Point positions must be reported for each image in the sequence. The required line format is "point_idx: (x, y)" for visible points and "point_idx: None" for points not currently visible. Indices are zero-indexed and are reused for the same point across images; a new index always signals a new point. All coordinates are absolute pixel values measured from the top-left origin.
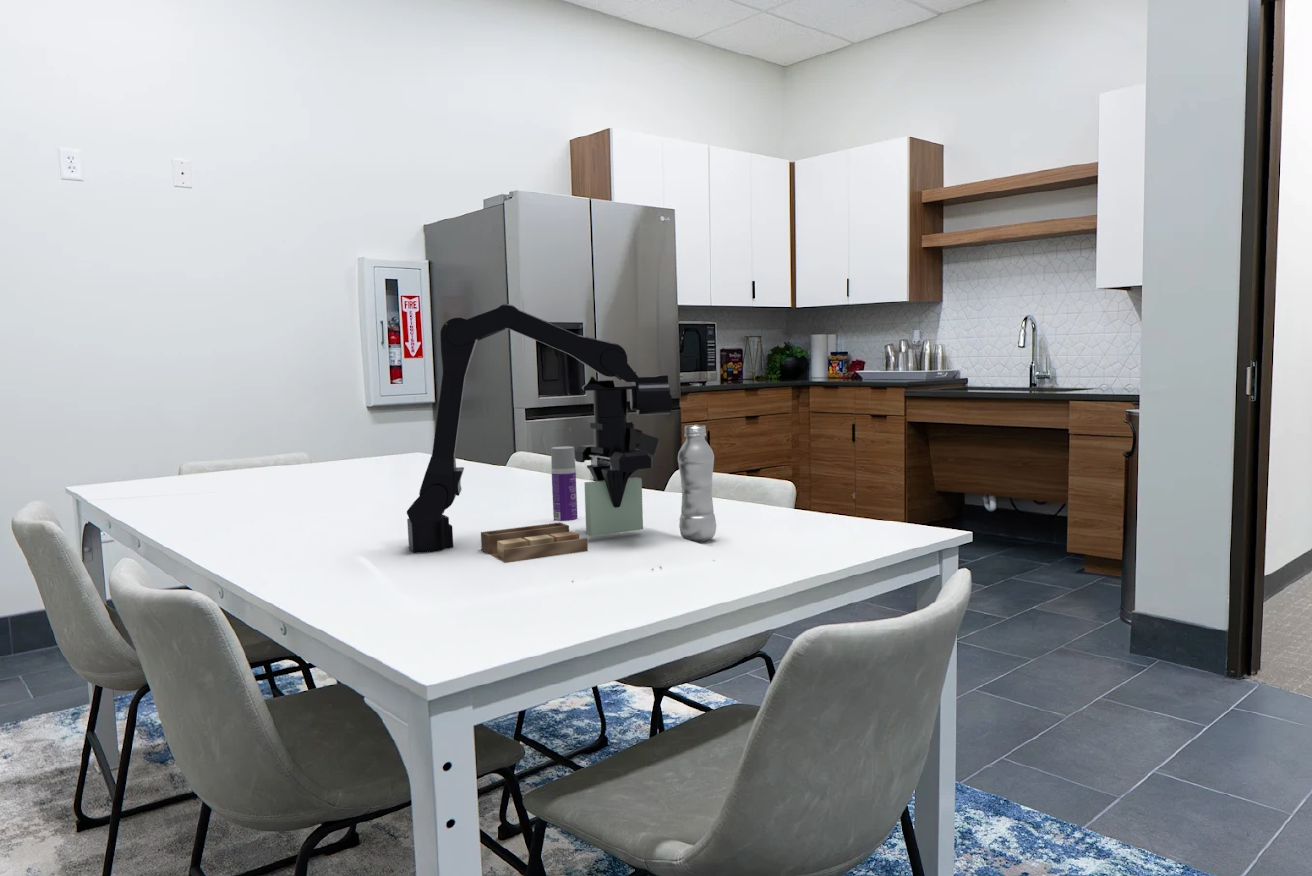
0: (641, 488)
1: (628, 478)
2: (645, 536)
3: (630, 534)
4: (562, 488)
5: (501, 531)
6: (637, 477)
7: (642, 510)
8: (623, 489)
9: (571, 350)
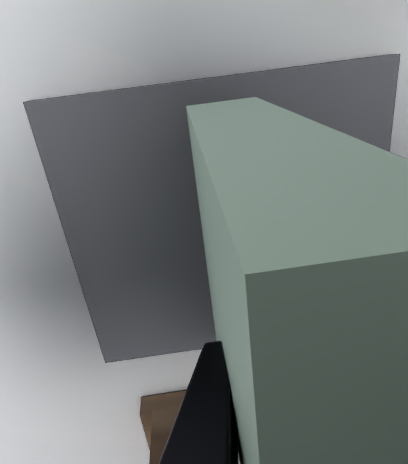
0: (397, 163)
1: (340, 457)
2: (135, 31)
3: (41, 90)
4: None
5: None
6: (333, 267)
7: (292, 112)
8: None
9: None
